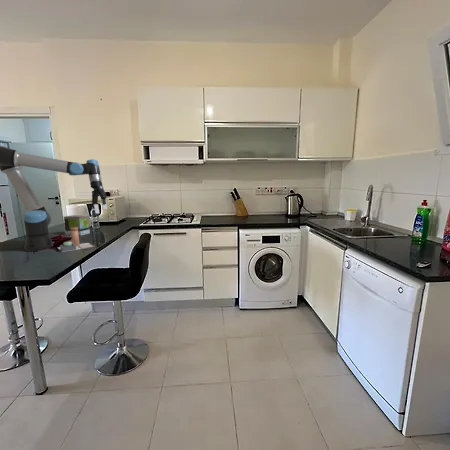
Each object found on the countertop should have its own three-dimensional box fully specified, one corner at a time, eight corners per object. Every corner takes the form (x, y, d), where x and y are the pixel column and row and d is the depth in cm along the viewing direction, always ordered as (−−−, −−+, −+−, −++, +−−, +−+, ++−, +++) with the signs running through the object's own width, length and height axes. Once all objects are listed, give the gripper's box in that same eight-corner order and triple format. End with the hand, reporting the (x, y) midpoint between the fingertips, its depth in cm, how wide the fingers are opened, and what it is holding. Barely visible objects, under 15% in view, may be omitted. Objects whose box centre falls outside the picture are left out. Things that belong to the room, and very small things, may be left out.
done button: (64, 247, 159) (64, 243, 158) (63, 246, 162) (62, 242, 162) (73, 246, 162) (72, 242, 161) (71, 245, 165) (70, 241, 165)
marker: (73, 246, 169) (71, 228, 167) (71, 245, 172) (69, 227, 170) (80, 245, 172) (78, 227, 170) (78, 244, 175) (76, 226, 173)
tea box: (90, 233, 215) (88, 215, 212) (80, 235, 205) (78, 217, 203) (75, 232, 219) (73, 214, 216) (65, 234, 209) (63, 216, 207)
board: (62, 253, 157) (62, 251, 157) (57, 249, 167) (57, 247, 167) (94, 248, 169) (94, 246, 169) (88, 244, 179) (88, 242, 179)
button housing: (63, 251, 157) (62, 247, 157) (60, 249, 162) (60, 245, 162) (76, 249, 162) (75, 245, 162) (73, 247, 167) (72, 243, 167)
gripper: (108, 176, 181) (113, 206, 180) (94, 186, 198) (99, 214, 197) (97, 176, 176) (102, 207, 174) (84, 186, 193) (89, 215, 191)
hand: (101, 211), depth 186 cm, fingers open, 13 cm apart
